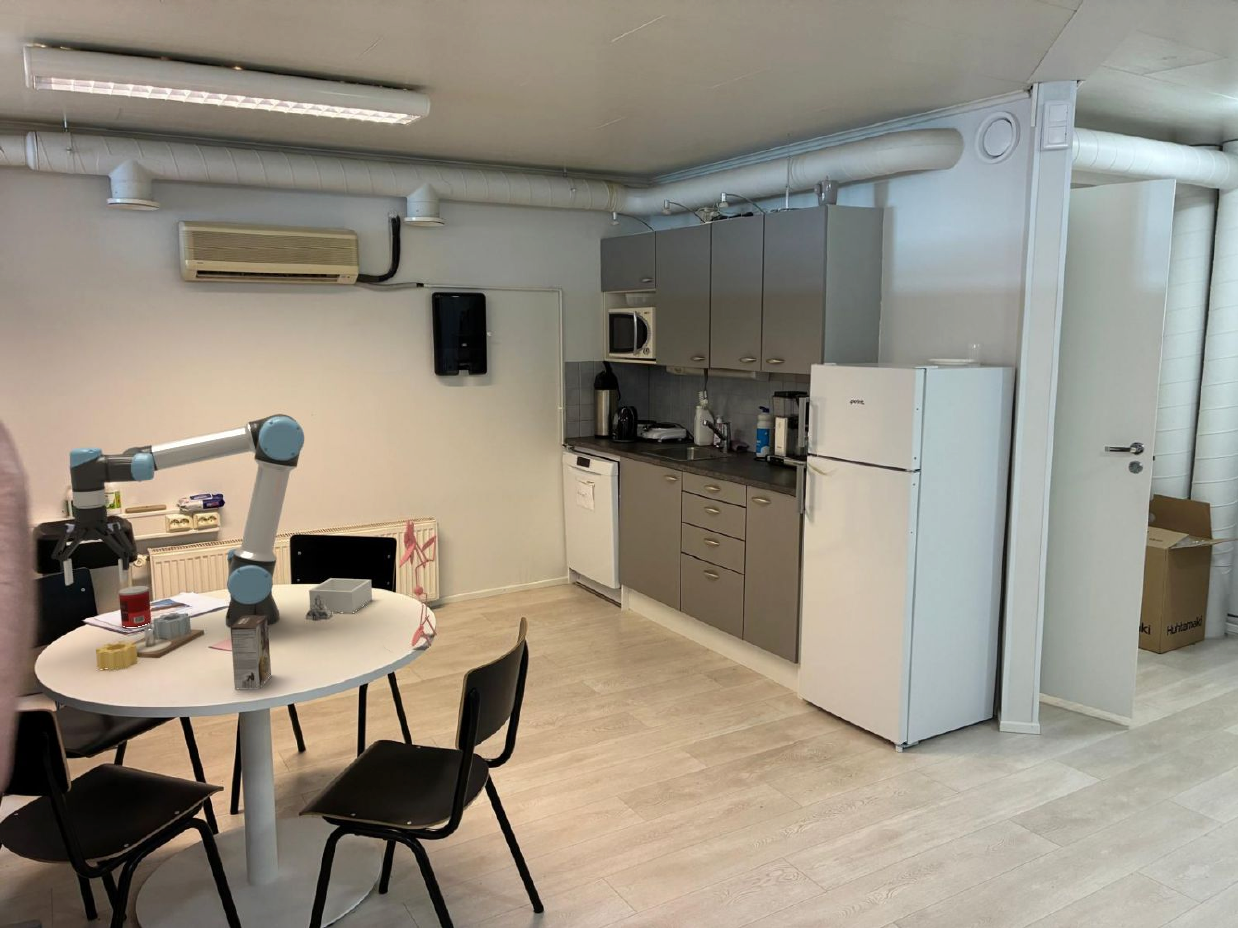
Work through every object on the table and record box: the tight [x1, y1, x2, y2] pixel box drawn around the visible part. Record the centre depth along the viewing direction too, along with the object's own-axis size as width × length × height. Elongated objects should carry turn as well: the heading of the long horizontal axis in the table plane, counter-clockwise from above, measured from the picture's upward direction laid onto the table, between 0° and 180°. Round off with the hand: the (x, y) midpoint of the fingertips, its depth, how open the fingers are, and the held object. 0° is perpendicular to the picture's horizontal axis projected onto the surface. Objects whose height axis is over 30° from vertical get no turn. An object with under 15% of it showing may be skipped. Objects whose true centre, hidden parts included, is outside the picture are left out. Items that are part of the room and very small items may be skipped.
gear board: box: [134, 629, 205, 659], centre depth 245 cm, size 13×20×1 cm, turn 172°
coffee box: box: [230, 615, 272, 690], centre depth 216 cm, size 9×6×16 cm
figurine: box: [398, 519, 443, 647], centre depth 245 cm, size 15×26×35 cm, turn 2°
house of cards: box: [305, 594, 333, 621], centre depth 266 cm, size 9×9×8 cm
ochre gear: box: [95, 640, 138, 671], centre depth 229 cm, size 9×9×5 cm
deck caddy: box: [308, 577, 373, 614], centre depth 280 cm, size 14×14×7 cm
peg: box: [144, 623, 156, 647], centre depth 240 cm, size 2×2×6 cm
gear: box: [153, 612, 192, 640], centre depth 250 cm, size 9×9×6 cm
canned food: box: [118, 585, 152, 627], centre depth 262 cm, size 8×8×11 cm
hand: (96, 582), depth 236 cm, fingers open, 13 cm apart
